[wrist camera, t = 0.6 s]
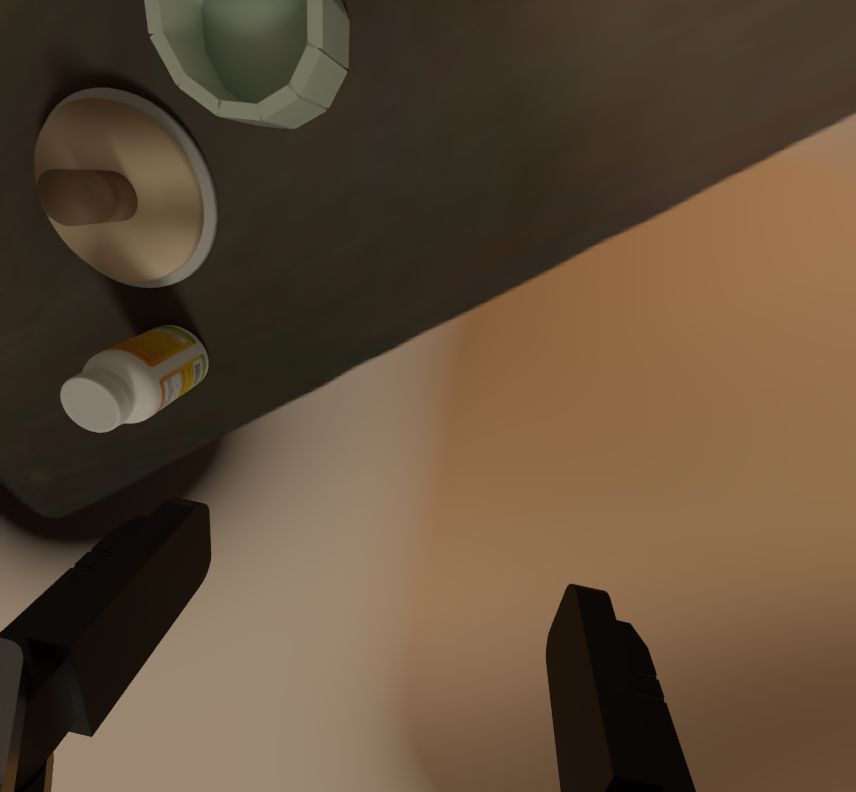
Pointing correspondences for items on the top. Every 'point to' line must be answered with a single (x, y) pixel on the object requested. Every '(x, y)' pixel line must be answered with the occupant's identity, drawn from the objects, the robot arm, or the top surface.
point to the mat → (198, 165)
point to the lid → (118, 189)
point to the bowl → (254, 55)
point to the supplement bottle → (135, 378)
